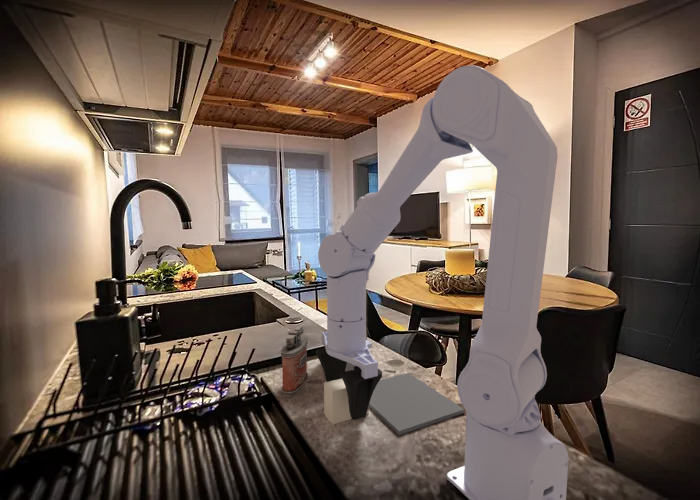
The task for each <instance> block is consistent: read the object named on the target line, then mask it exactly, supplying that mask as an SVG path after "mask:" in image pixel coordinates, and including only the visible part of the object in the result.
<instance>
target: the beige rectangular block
mask: <svg viewBox="0 0 700 500" xmlns="http://www.w3.org/2000/svg"><path fill="white" fill-rule="evenodd" d="M369 409H370V407H368V410H367V414H366V415H369ZM323 413H324V416H325V417H326V418H327V419H328V420H329V422H330V423H331V425H335V424H338V423H342V422H345V421H348V420H353V419H352V418H351V416H350V411H349V402H348V395H347V390H346V387H345V384H344V381H343V379H338V380H333V381H329V382H326V381H324V383H323Z"/></svg>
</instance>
